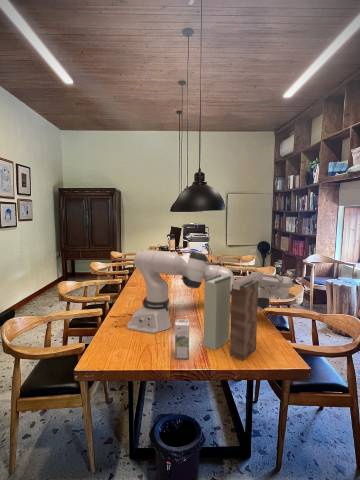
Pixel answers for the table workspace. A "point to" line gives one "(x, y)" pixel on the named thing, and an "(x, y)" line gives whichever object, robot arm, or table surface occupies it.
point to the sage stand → (216, 311)
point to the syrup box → (181, 339)
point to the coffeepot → (213, 263)
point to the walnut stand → (243, 321)
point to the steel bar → (247, 280)
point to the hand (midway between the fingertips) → (266, 274)
